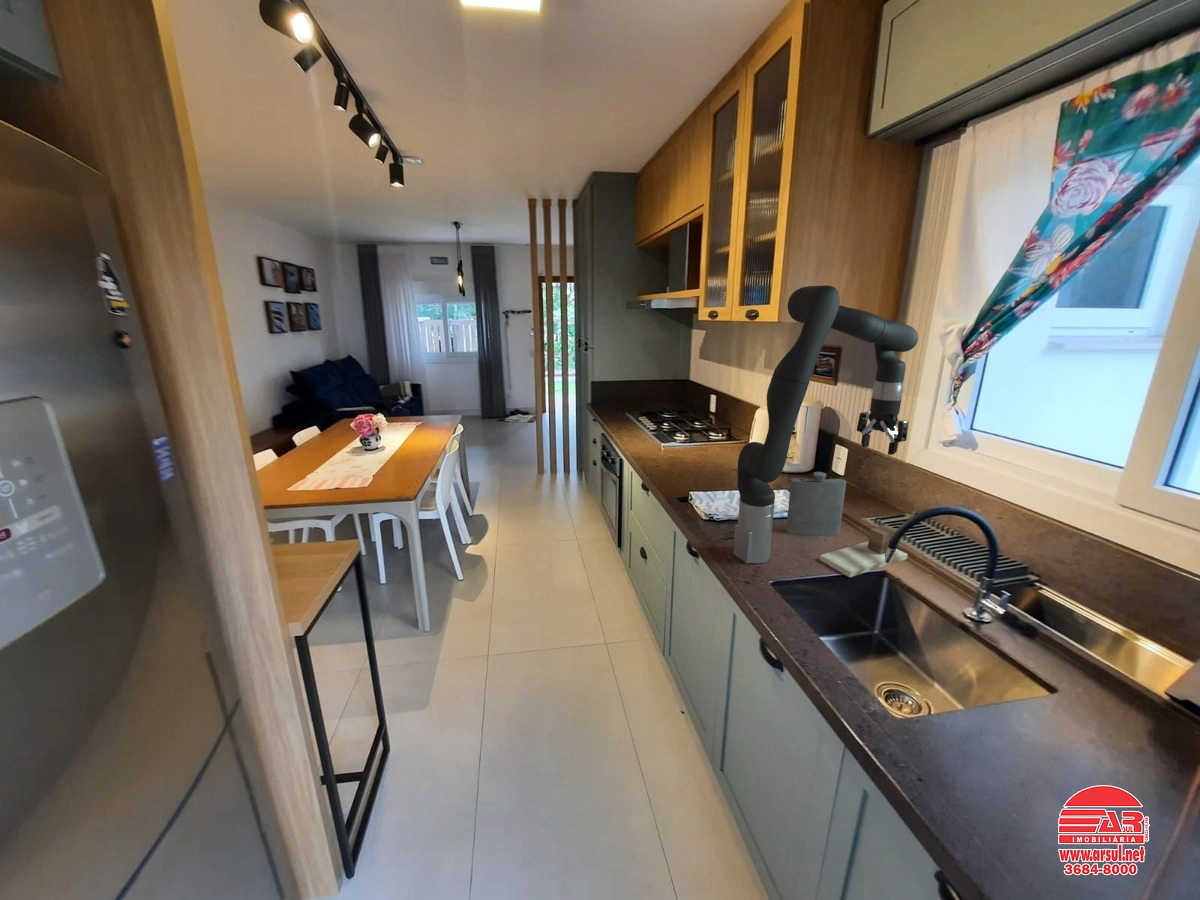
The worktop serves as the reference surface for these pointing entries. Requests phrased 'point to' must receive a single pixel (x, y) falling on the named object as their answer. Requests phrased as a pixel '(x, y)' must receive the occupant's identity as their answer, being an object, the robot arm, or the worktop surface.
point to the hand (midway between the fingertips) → (877, 450)
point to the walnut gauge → (880, 538)
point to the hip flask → (815, 506)
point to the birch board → (859, 559)
